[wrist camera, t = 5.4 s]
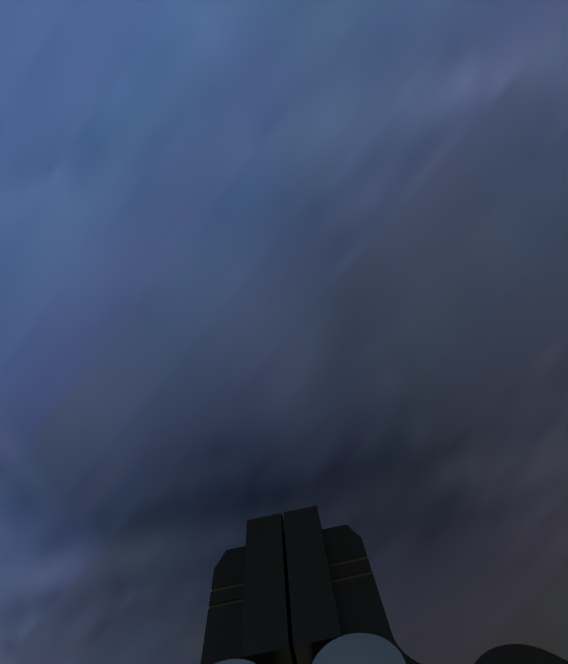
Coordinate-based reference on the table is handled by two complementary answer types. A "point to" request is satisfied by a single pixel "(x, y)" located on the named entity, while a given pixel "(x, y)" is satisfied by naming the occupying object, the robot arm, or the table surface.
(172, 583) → the table surface
